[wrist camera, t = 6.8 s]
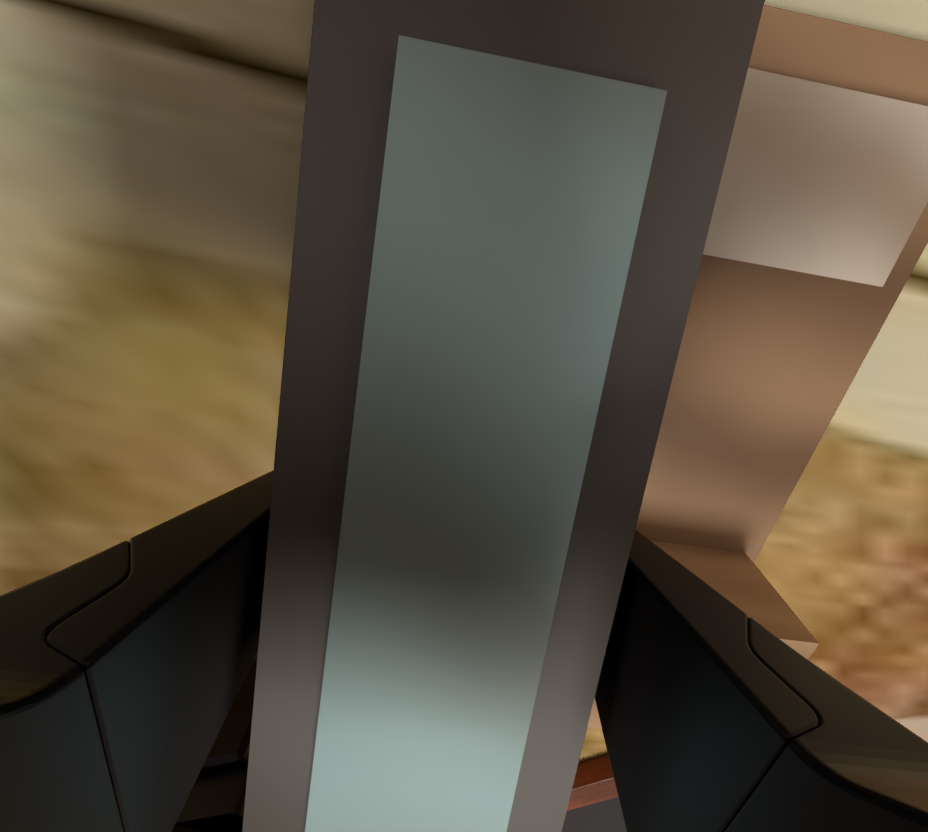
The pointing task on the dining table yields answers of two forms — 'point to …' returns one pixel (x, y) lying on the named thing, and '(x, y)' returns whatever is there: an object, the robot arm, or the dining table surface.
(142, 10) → the dining table surface
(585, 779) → the picture frame
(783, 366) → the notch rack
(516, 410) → the picture frame
